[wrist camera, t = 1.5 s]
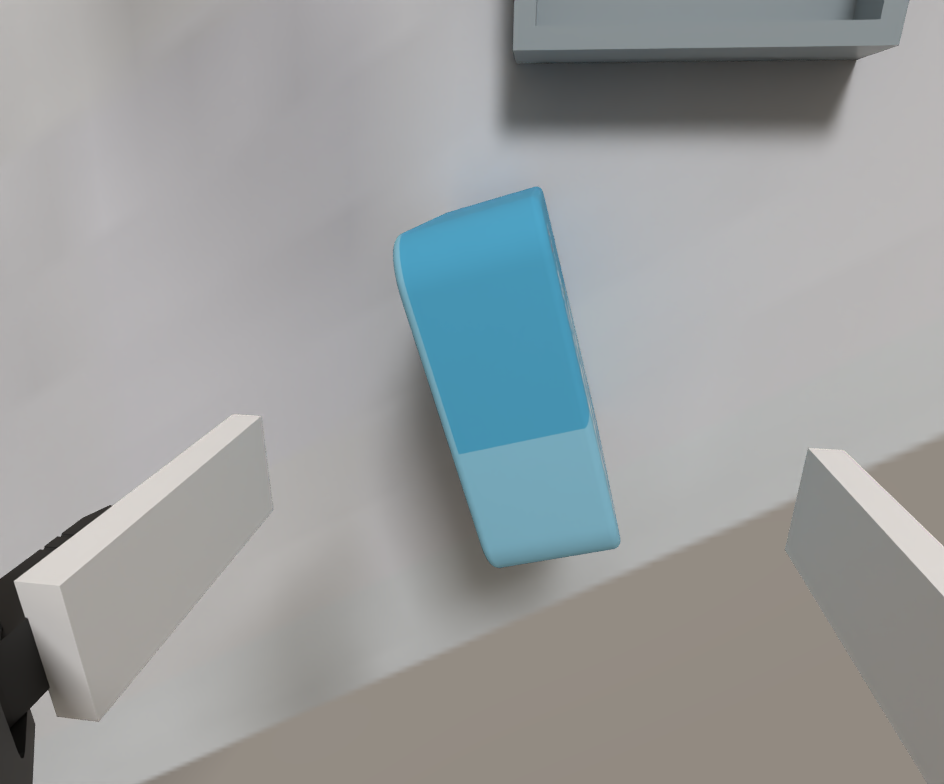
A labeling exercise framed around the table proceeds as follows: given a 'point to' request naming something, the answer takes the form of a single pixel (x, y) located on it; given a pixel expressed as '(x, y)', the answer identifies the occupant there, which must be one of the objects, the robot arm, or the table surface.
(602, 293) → the table surface
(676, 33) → the tray
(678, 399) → the table surface
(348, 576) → the table surface
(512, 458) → the data package
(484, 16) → the table surface
